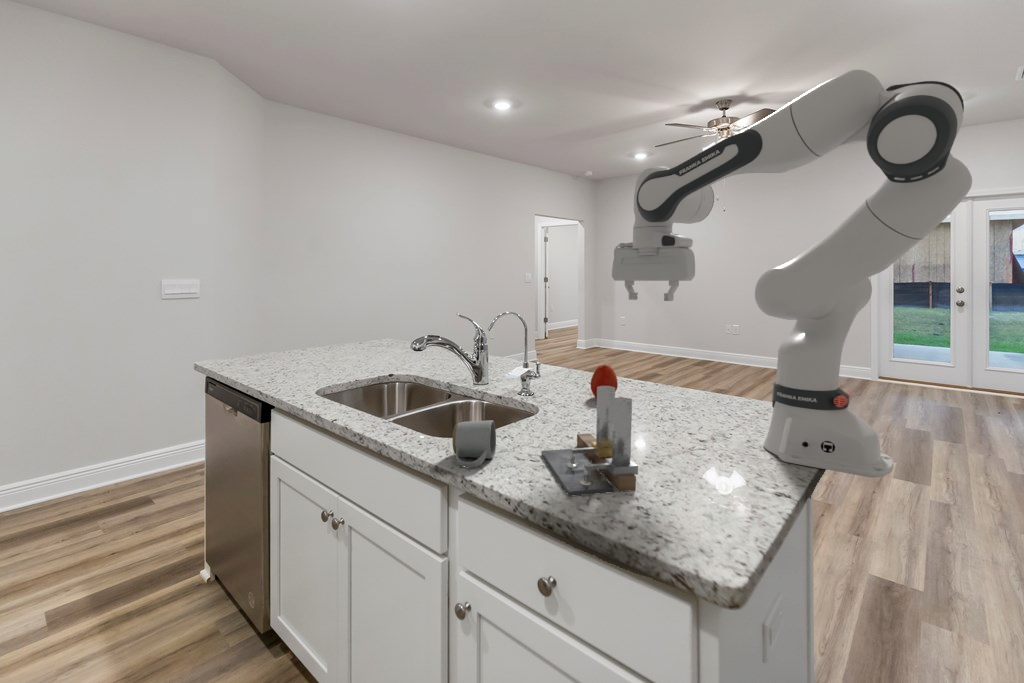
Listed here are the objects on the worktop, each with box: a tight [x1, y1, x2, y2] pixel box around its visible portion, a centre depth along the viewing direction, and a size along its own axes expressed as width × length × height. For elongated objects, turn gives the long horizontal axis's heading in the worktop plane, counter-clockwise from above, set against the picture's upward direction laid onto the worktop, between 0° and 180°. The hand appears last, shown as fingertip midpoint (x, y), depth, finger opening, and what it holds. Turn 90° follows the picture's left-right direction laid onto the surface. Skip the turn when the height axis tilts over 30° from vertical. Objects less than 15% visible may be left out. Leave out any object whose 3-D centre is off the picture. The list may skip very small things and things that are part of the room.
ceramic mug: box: [451, 419, 497, 468], centre depth 100 cm, size 11×8×8 cm
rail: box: [576, 433, 637, 492], centre depth 97 cm, size 24×3×2 cm, turn 10°
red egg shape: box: [590, 363, 619, 399], centre depth 149 cm, size 8×8×11 cm
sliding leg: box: [570, 386, 616, 464], centre depth 95 cm, size 4×9×14 cm, turn 100°
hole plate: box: [540, 448, 615, 497], centre depth 94 cm, size 20×8×1 cm, turn 10°
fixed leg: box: [584, 396, 639, 481], centre depth 87 cm, size 4×9×14 cm, turn 100°
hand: (650, 300), depth 117 cm, fingers open, 8 cm apart
